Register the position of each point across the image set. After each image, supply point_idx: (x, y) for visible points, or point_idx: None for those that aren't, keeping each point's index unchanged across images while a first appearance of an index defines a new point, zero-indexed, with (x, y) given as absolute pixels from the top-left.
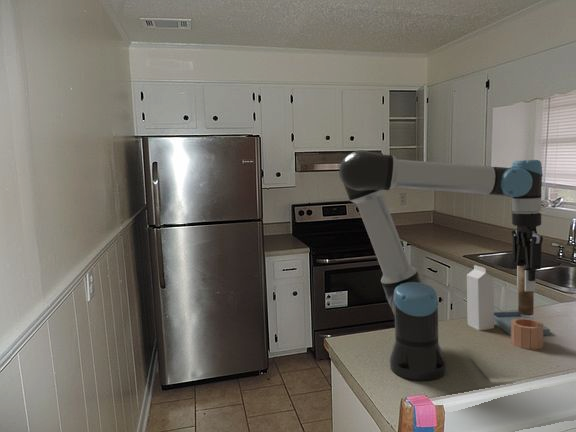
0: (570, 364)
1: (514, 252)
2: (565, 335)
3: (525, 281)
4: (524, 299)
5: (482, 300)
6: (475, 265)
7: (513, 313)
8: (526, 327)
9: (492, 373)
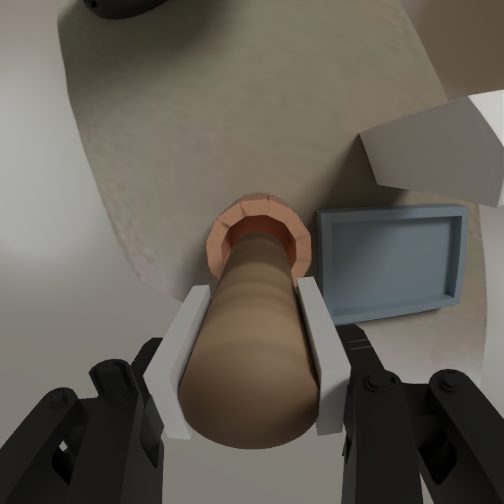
0: (160, 290)
1: (486, 460)
2: None
3: (184, 316)
4: (224, 267)
5: (412, 135)
6: None
7: (454, 278)
8: (213, 233)
9: (105, 104)
